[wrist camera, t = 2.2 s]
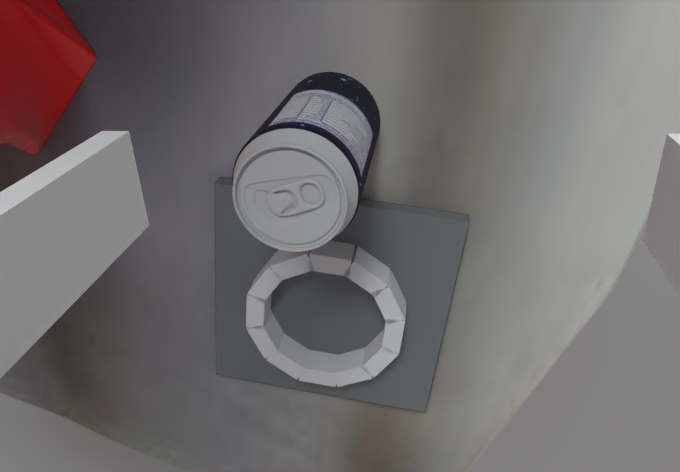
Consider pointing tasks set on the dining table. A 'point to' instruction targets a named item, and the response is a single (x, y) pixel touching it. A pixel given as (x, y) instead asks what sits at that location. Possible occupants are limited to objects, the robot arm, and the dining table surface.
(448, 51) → the dining table surface
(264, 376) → the ring seat
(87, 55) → the vase
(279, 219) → the beverage can
